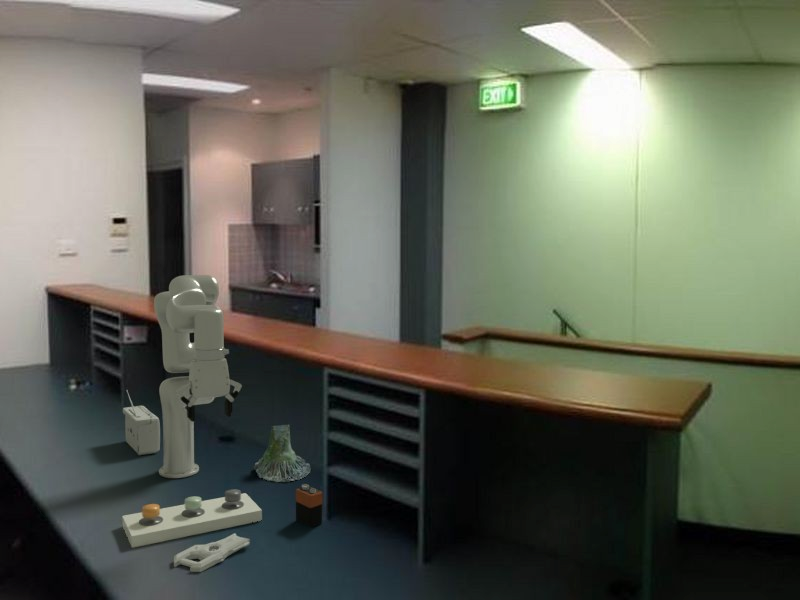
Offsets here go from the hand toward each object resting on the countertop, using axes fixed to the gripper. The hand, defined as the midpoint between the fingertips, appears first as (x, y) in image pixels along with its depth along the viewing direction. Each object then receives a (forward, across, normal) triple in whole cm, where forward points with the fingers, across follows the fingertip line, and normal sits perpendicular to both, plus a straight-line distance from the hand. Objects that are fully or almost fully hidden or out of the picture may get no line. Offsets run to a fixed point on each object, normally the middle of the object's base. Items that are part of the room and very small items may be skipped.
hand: (210, 418), depth 184 cm
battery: (+30, -24, +11) cm, 40 cm away
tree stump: (+30, -32, -30) cm, 53 cm away
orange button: (+25, +15, -4) cm, 29 cm away
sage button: (+25, +4, -3) cm, 25 cm away
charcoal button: (+25, -7, -3) cm, 26 cm away
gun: (+31, +5, +17) cm, 36 cm away
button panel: (+30, +4, -3) cm, 30 cm away
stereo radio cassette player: (+29, +3, -77) cm, 83 cm away
